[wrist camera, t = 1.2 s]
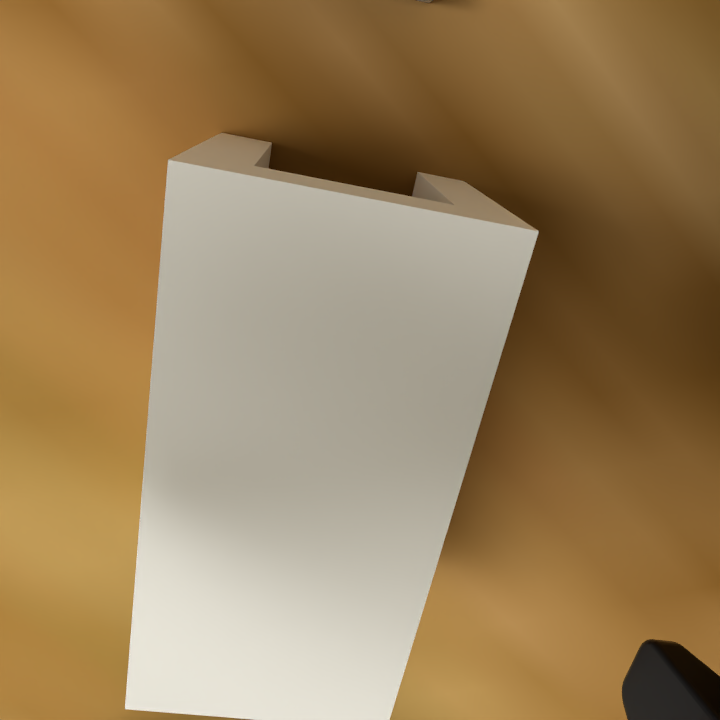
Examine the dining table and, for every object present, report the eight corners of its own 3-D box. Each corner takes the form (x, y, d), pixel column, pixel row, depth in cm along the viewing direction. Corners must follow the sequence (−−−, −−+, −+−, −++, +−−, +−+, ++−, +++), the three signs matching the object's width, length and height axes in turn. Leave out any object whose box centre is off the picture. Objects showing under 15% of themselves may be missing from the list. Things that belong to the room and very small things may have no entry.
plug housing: (463, 180, 13) (539, 231, 9) (368, 557, 17) (385, 730, 13) (222, 132, 13) (167, 160, 8) (178, 535, 16) (124, 709, 12)
